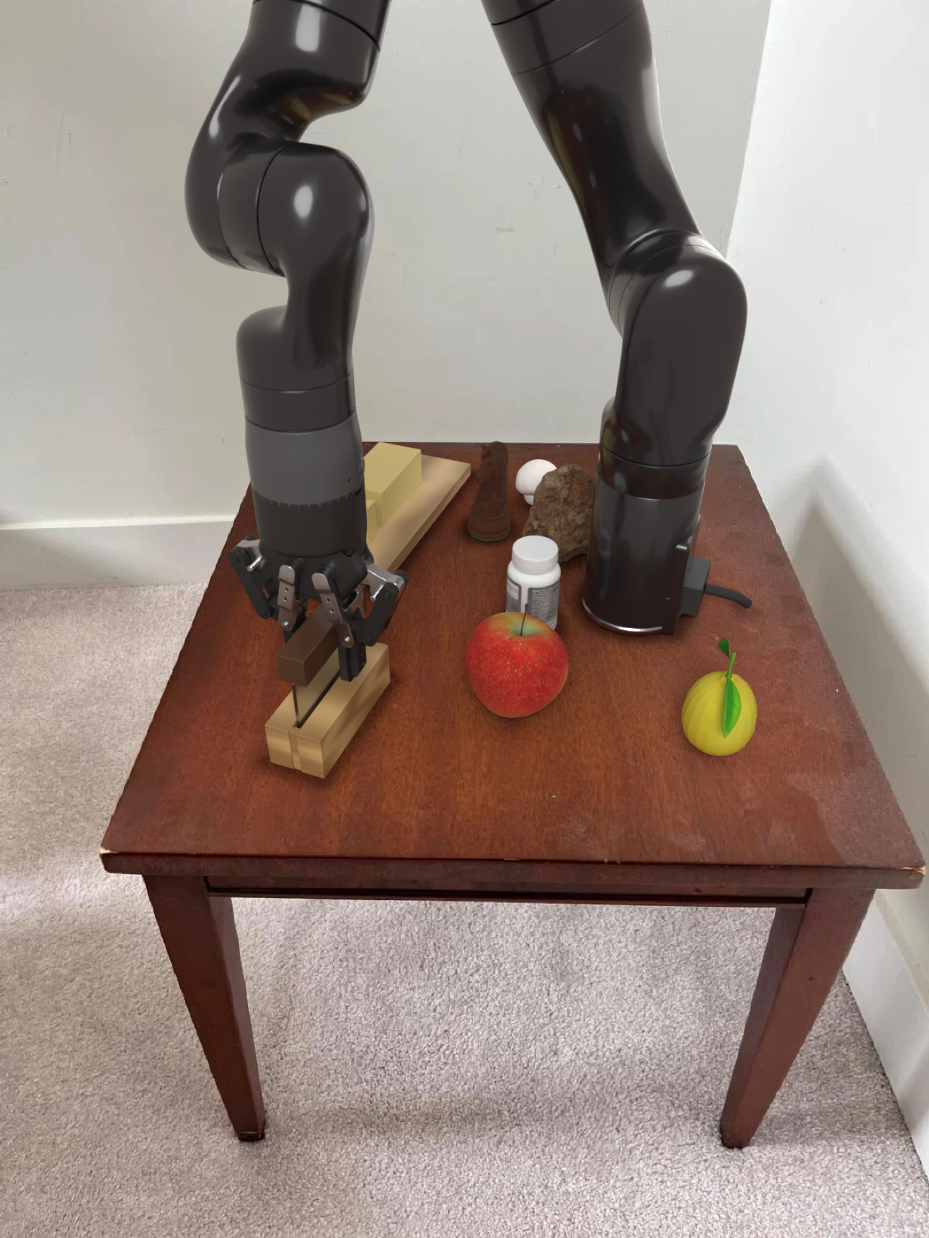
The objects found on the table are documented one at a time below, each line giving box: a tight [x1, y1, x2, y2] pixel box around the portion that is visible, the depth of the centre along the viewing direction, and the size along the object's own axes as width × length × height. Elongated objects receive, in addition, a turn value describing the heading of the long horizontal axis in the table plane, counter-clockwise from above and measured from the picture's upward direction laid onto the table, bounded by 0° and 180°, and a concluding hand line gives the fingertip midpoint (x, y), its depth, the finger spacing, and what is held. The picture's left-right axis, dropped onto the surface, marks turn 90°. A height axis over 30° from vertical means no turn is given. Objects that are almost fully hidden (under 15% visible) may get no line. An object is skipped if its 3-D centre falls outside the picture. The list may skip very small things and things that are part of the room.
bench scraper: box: [275, 583, 368, 729], centre depth 73 cm, size 10×2×10 cm, turn 159°
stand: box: [264, 641, 391, 780], centre depth 75 cm, size 12×5×4 cm, turn 159°
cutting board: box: [360, 453, 471, 586], centre depth 101 cm, size 12×24×2 cm, turn 159°
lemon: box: [680, 637, 758, 757], centre depth 71 cm, size 7×6×10 cm
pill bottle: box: [505, 536, 562, 631], centre depth 84 cm, size 5×5×8 cm
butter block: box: [363, 441, 422, 527], centre depth 100 cm, size 5×10×4 cm, turn 159°
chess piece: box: [466, 440, 512, 542], centre depth 96 cm, size 5×5×10 cm
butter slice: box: [366, 499, 377, 543], centre depth 94 cm, size 5×2×4 cm, turn 69°
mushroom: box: [515, 459, 558, 506], centre depth 102 cm, size 5×5×5 cm
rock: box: [521, 463, 596, 566], centre depth 93 cm, size 10×6×10 cm
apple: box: [463, 603, 570, 719], centre depth 75 cm, size 8×8×10 cm
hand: (327, 667), depth 73 cm, fingers open, 3 cm apart
